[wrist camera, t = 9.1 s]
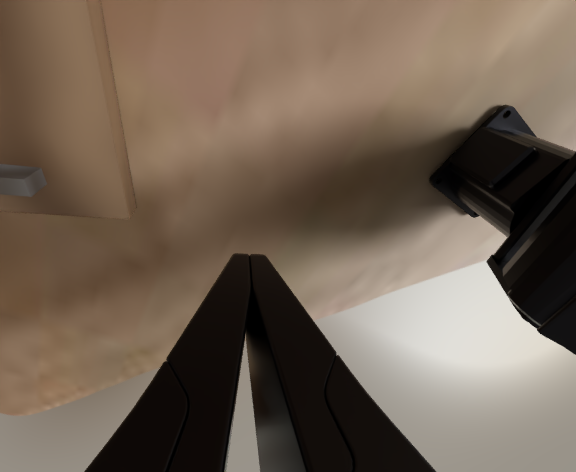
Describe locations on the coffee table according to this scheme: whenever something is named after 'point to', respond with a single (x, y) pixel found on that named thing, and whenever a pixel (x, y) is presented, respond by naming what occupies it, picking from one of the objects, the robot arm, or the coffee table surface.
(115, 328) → the coffee table surface
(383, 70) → the coffee table surface
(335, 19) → the coffee table surface
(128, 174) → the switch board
